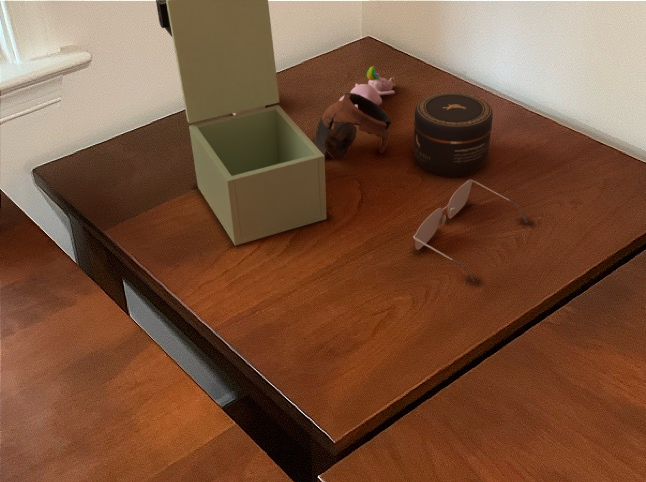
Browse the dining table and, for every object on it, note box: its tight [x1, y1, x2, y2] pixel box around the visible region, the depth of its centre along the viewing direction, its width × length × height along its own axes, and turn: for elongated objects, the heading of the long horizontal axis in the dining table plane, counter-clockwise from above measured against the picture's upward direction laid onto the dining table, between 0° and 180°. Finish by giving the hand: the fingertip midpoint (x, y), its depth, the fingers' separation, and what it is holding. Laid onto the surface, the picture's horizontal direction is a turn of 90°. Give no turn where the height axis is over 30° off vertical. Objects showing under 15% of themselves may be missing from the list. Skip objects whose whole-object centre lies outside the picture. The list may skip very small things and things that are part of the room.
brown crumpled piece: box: [313, 92, 392, 160], centre depth 108 cm, size 12×10×8 cm
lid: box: [166, 0, 280, 124], centre depth 97 cm, size 14×12×5 cm
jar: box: [412, 90, 494, 178], centre depth 106 cm, size 10×10×8 cm
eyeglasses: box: [413, 178, 528, 282], centre depth 93 cm, size 14×8×4 cm, turn 145°
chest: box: [188, 104, 327, 246], centre depth 98 cm, size 14×12×9 cm
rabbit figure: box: [338, 65, 396, 108], centre depth 118 cm, size 6×6×15 cm
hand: (210, 24), depth 98 cm, fingers open, 9 cm apart
